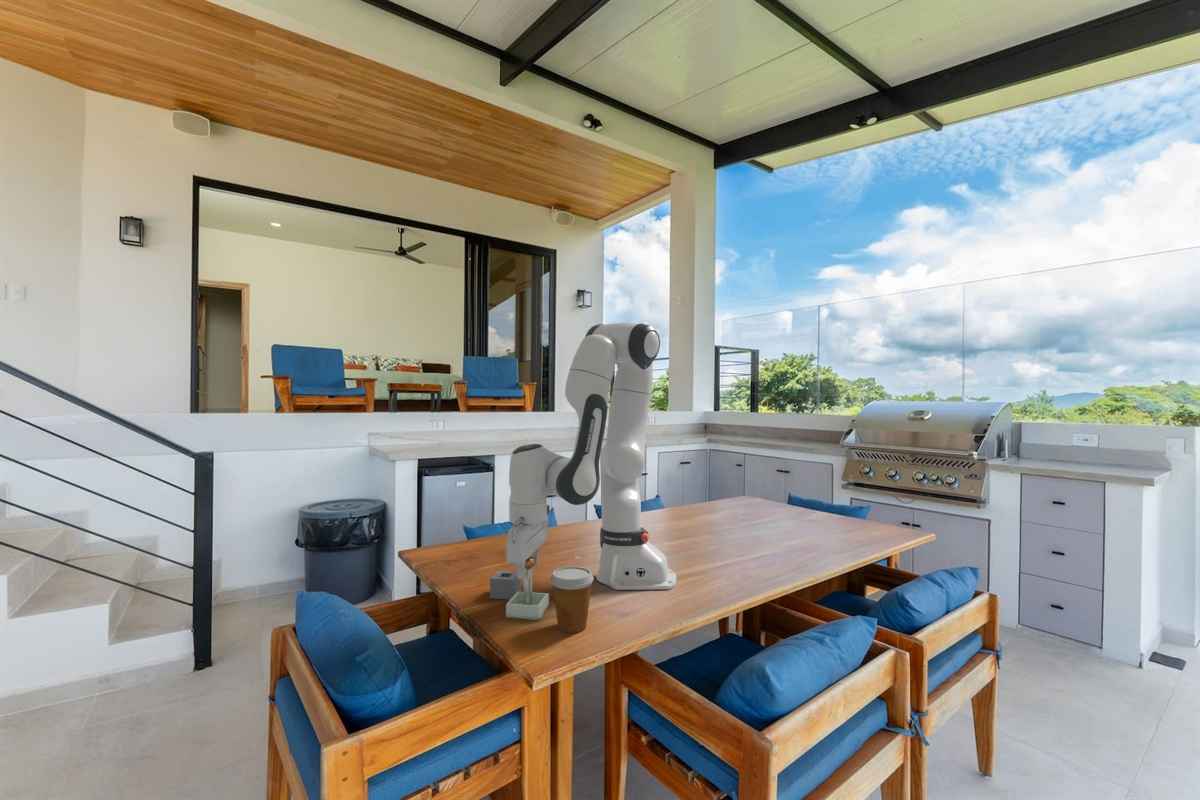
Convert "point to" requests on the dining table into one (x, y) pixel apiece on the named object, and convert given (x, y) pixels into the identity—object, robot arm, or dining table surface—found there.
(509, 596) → the pin block
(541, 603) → the tray
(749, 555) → the dining table surface
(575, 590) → the disposable coffee cup
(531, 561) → the pin
